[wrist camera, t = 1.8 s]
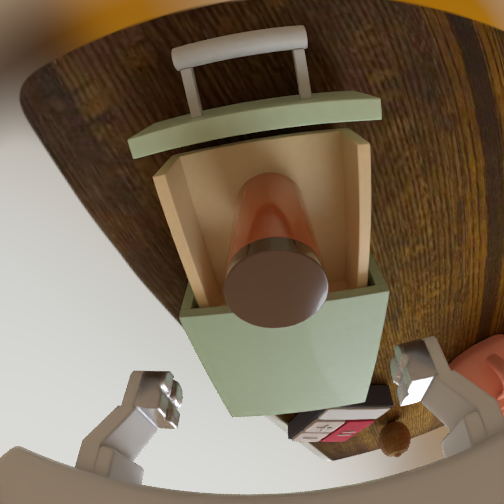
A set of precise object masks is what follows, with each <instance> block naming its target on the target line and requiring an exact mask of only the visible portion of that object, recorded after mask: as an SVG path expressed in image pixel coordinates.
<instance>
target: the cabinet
mask: <svg viewBox="0 0 504 504" xmlns="http://www.w3.org/2000/svg"><path fill="white" fill-rule="evenodd" d="M388 297H389V289H388V286H387V284H386V282H385V280H384V278H383V276H382V274H381V272H380V270H379V268H378V266H377V264H376V262H375V260H374V258H373V256H372V254H371V252H370V253H369V269H368V282H367V287H362V288H356V289H349V290H343V291H336V292H330V293H328V295H327V298H326V300H325V302H324V304H323V306H322V307H321V308H320V310H319V311H318V312H317V313H316V314H314V315H313V316H312V317H311V318H309V319H307V320H306V321H304V322H302V323H299V324H297V325H294V326H290V327H284V328H263V327H258V326H255V325H252V324H249V323H247V322H245V321H243V320H241V319H240V318H239V317H237V316H236V315H235V314H234V313H233V312H232V311H231V310H230V308H229V307H228V305H226V306H217V307H207V308H199V305H198V303H197V300H196V298H195V295H194V293H193V290H192V288H191V285H190V282H189V281H188V285H187V288H186V292H185V296H184V299H183V303H182V307H181V311H180V314H179V319H180V321H181V323H182V325H183V327H184V330H185V331H186V334H187V336H188V337H189V339H190V341H191V343H192V345H193V347H194V349H195V351H196V353H197V355H198V357H199V359H200V361H201V363H202V365H203V366H204V368H205V370H206V372H207V374H208V376H209V378H210V379H211V381H212V383H213V385H214V387H215V388H216V390H217V392H218V393H219V395H220V397H221V399H222V401H223V403H224V404H225V406H226V408H227V409H228V411H229V413H230V415H231V416H232V417H245V416H263V415H276V414H287V413H297V412H306V411H313V410H321V409H328V408H334V407H340V406H346V405H352V404H357V403H362V402H365V400H366V397H367V393H368V390H369V386H370V382H371V378H372V374H373V370H374V366H375V362H376V358H377V354H378V349H379V345H380V340H381V335H382V330H383V325H384V320H385V315H386V309H387V303H388Z"/></svg>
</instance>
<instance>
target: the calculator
mask: <svg viewBox="0 0 504 504" xmlns="http://www.w3.org/2000/svg"><path fill="white" fill-rule="evenodd" d="M392 406H393V402H392V397H391V393H390V389H389V386H388V385H370V386H369V390H368V393H367V397H366V400H365V402H362V403H357V404H352V405H346V406H340V407H334V408H328V409H321V410H313V411H306V412H300V413H299V414H298V415H297V416H296V417H295V418H294V419H293V420H291V421H290V422H289V423H288V438H289V439H292V441H296V442H318V441H319V440H321V442H337V441H346V440H347V439H349V438H350V437H352V436H354V435H355V434H357V433H358V432H360V431H361V430H363V429H364V428H366V427H367V426H369V425H370V424H372V423H373V422H374V420H375V419H377V418H379V417H380V416H381V415H383V414H384V413H385V412H387V411H388V410H389V409H390V408H391V407H392Z"/></svg>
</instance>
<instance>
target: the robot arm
mask: <svg viewBox="0 0 504 504" xmlns="http://www.w3.org/2000/svg"><path fill="white" fill-rule="evenodd" d="M394 353H395V356H394V357H393V358H392V360H391V375H392V379H393V382H395V383H396V384H397V385H399V386H398V388H397V391H396V392H397V396H398V399H399V403H400V406H404V405H408V404H412V403H416V402H419V401H421V403H422V404H423V405H424V406H425V407H426V408H427V409H429V410H430V411H431V412H432V413H433V414H434V415H435V416H436V417H437V418H438V419H439V420H440V421H441V422H442V423H443V424H444V425H445V426H446V427H448V429H450V430H451V431H450V432H449V433H448V434H447V436H446V437H445V438H444V439H443V440H442V442H441V445H442V450H443V453H444V457H445V458H444V459H441V460H439V461H436V462H433V463H430V464H428V465H425V466H422V467H419V468H416V469H412V470H409V471H406V472H403V473H399V474H395V475H392V476H388V477H384V478H380V479H376V480H372V481H367V482H362V483H358V484H353V485H347V486H342V487H335V488H330V489H323V490H314V491H305V492H295V493H281V494H257V495H256V494H254V495H253V494H252V495H240V494H239V495H238V494H212V493H197V492H186V491H179V490H171V489H164V488H157V487H151V486H146V485H141V484H142V477H143V471H144V470H143V468H142V467H141V466H139V465H137V464H136V463H134V462H133V461H134V459H135V458H136V457H137V456H138V454H139V453H140V452H141V451H142V449H143V448H144V447H145V445H146V444H147V443H148V442H149V440H150V439H151V438H152V436H153V435H154V434H155V433H156V431H157V430H158V428H169V429H177V428H178V422H179V417H180V414H179V412H178V410H177V409H178V407H180V405H181V404H182V398H183V397H182V389H181V386H180V384H179V383H178V382H176V381H175V380H173V378H174V376H173V374H172V373H171V372H170V371H133V372H132V374H131V375H130V379H129V382H128V385H127V388H126V392H125V395H124V398H123V402H122V405H121V406H117V407H116V408H115V409H114V410H113V411H112V412H111V413H110V414H109V415H108V416H107V417H106V418H105V419H104V420H103V421H102V422H101V423H100V424H99V425H98V426H97V427H96V428H95V429H94V430H93V431H92V432H91V433H90V434H89V435H88V436H87V437H85V438H84V440H83V441H82V445H81V448H80V451H79V455H78V458H77V462H76V466H75V468H74V467H71V466H68V465H65V464H63V463H60V462H57V461H54V460H52V459H49V458H47V457H44V456H42V455H39V454H37V453H34V452H32V451H30V450H27V449H25V448H23V447H20V446H16V447H14V448H12V449H10V450H9V451H8V452H7V453H5V454H4V455H3V456H2V457H1V458H0V504H504V417H503V415H502V412H501V409H500V407H499V404H498V402H497V400H496V399H495V398H493V397H492V396H491V395H489V394H488V393H486V392H485V391H484V390H482V389H481V388H479V387H478V386H477V385H475V384H474V383H472V382H471V381H469V380H468V379H467V378H465V377H464V376H462V375H461V374H460V373H458V372H457V371H455V370H452V371H451V369H450V367H449V365H448V363H447V360H446V358H445V356H444V354H443V352H442V349H441V347H440V345H439V343H438V341H437V339H436V337H434V336H430V337H427V338H423V339H418V340H414V341H410V342H406V343H403V344H399V345H396V346H395V349H394Z"/></svg>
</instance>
